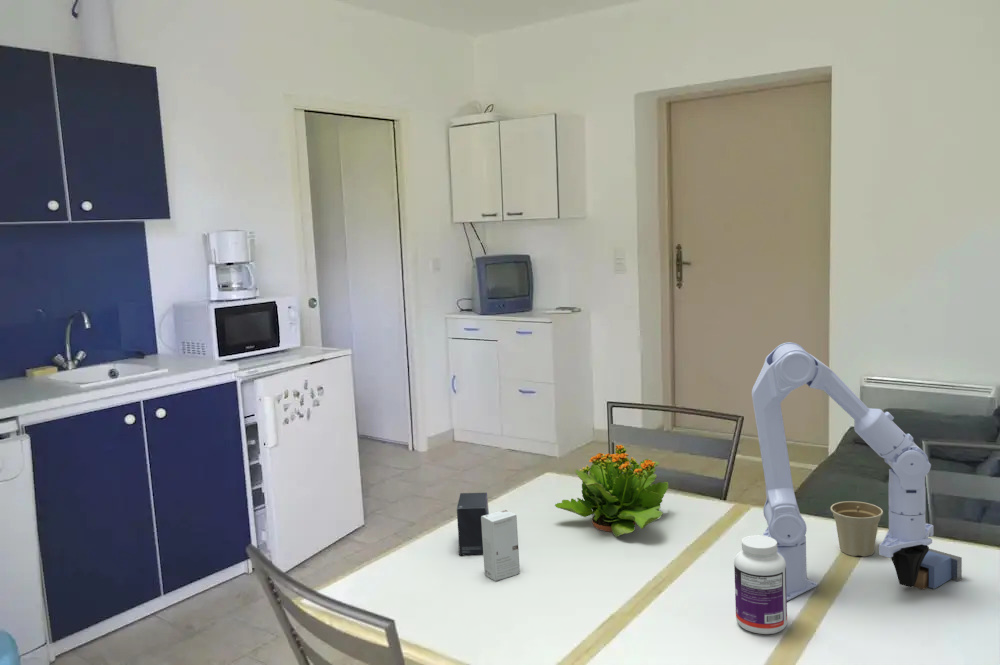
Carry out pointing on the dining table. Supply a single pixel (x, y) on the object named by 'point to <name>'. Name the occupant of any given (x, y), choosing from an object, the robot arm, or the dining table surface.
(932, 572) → the socket block
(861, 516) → the flower pot
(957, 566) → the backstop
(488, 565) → the skincare box
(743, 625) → the pill bottle
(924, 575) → the walnut peg
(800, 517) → the robot arm
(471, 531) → the small box
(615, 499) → the potted flower
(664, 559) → the dining table surface
